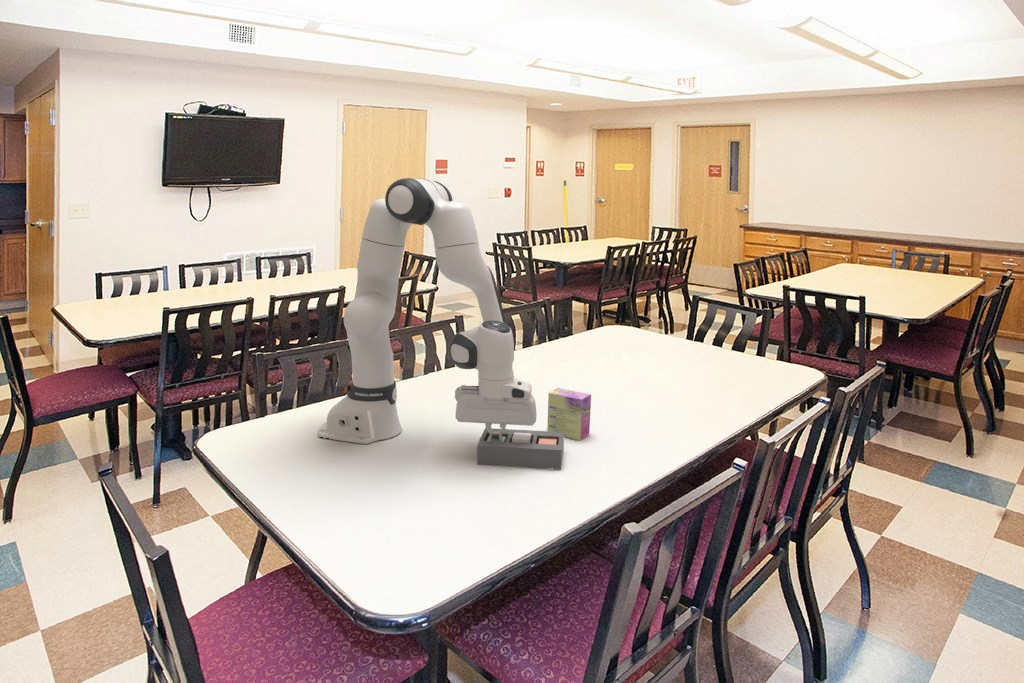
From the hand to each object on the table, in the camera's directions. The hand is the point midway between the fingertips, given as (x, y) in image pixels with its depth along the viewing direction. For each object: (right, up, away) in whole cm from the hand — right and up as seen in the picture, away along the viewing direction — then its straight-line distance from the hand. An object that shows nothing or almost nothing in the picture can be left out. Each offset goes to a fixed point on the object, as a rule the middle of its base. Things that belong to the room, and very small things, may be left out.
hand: (495, 439), depth 174 cm
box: (+20, -1, +16) cm, 26 cm away
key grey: (+6, -1, -1) cm, 7 cm away
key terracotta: (+13, -2, -1) cm, 13 cm away
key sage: (0, -2, 0) cm, 2 cm away
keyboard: (+6, -5, 0) cm, 8 cm away
